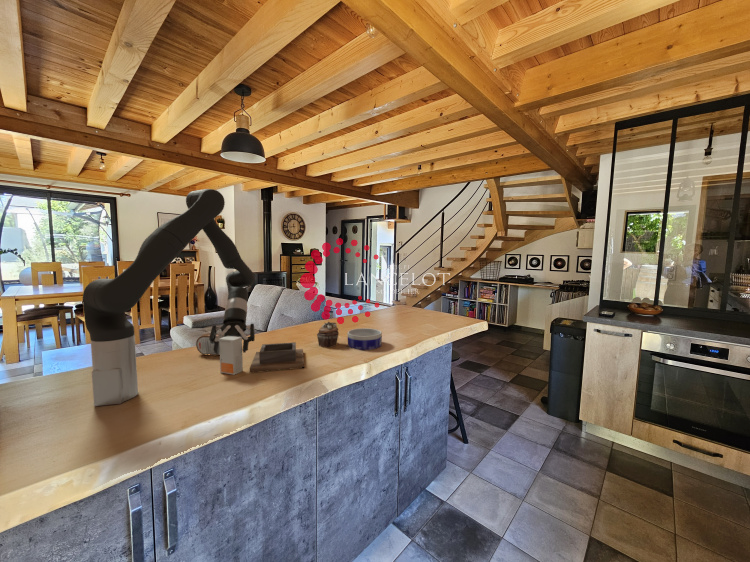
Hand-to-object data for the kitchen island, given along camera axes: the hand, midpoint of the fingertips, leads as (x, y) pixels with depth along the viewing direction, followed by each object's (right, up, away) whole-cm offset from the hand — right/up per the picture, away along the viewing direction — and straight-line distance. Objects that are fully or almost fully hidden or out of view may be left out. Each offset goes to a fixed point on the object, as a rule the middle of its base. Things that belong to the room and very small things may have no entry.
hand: (230, 352), depth 104 cm
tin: (-15, -6, +19) cm, 25 cm away
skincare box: (0, -7, +1) cm, 7 cm away
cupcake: (+28, -5, +34) cm, 44 cm away
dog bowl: (+44, -5, +34) cm, 56 cm away
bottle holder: (+13, -6, +12) cm, 18 cm away
